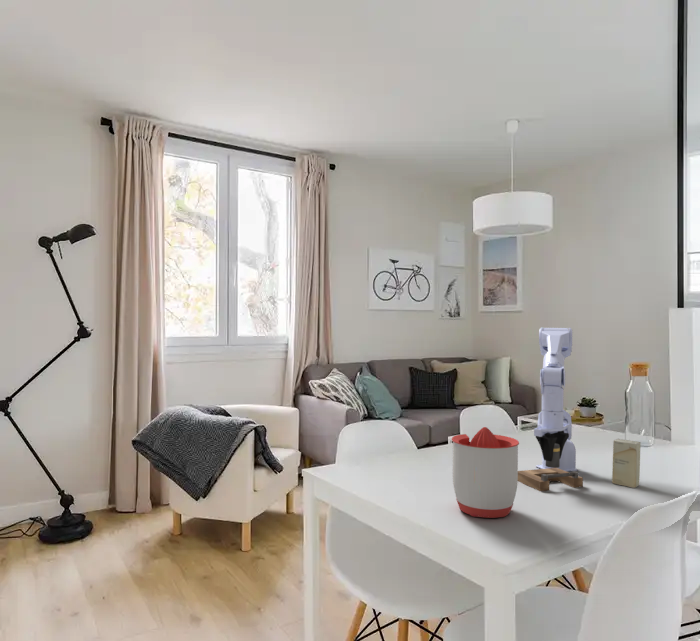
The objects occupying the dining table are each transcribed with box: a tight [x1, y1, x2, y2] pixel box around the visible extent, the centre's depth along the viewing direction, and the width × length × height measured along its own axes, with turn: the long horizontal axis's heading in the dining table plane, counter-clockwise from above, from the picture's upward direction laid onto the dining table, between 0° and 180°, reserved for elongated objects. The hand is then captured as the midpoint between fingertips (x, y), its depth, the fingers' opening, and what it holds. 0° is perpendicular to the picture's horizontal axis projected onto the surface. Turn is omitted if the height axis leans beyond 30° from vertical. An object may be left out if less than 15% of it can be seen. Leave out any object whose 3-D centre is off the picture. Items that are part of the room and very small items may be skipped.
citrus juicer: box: [451, 426, 520, 519], centre depth 132 cm, size 16×17×20 cm
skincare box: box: [611, 438, 642, 489], centre depth 154 cm, size 6×4×12 cm
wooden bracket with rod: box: [517, 468, 584, 492], centre depth 154 cm, size 14×11×4 cm
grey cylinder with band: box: [546, 443, 560, 468], centre depth 153 cm, size 4×4×6 cm
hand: (552, 459), depth 153 cm, fingers closed on grey cylinder with band, 4 cm apart
